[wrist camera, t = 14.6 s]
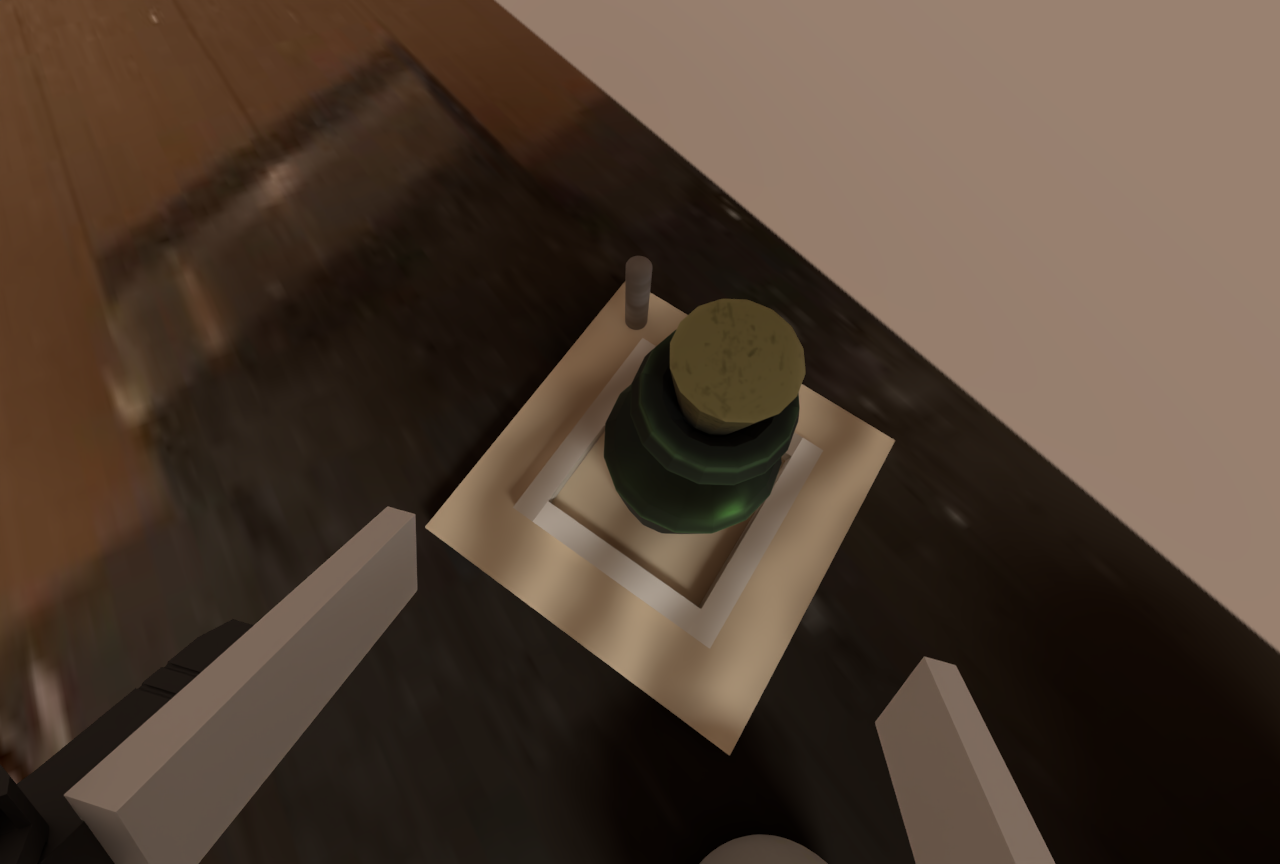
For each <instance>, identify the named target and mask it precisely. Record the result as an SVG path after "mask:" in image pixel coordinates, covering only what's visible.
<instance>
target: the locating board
mask: <svg viewBox="0 0 1280 864" xmlns="http://www.w3.org/2000/svg"><path fill="white" fill-rule="evenodd" d="M651 277H652V263H651V262H650V260H649V259H647V258H646V257H643V256H634V257H632V258H630V259H629V260H628V261H627V263H626V278H625V282H624V283H623V284H622V286H621V287H620V288H619V289H618V291H617V292H616V293H615V294H614V296H613V297H612V298H611V299H610V300H609V302H608V303H607V304H606V305H605V307H604V308H603V309H602V310H601V311H600V313H599V314H598V315H597V316H596V318H595V319H594V320H593V321H592V323H591V324H590V325H589V326H588V327H587V329H586V330H585V331H584V332H583V334H582V335H581V336H580V337H579V339H578V340H577V341H576V342H575V343H574V345H573V346H572V347H571V348H570V350H569V351H568V352H567V353H566V354H565V356H564V357H563V358H562V359H561V361H560V362H559V363H558V364H557V366H556V367H555V368H554V369H553V370H552V372H551V373H550V374H549V375H548V377H547V378H546V379H545V380H544V381H543V383H542V384H541V385H540V386H539V388H538V389H537V390H536V391H535V393H534V394H533V395H532V396H531V397H530V399H529V400H528V401H527V402H526V404H525V405H524V406H523V407H522V409H521V410H520V411H519V412H518V413H517V415H516V416H515V417H514V418H513V420H512V421H511V422H510V423H509V424H508V426H507V427H506V428H505V429H504V431H503V432H502V433H501V434H500V436H499V437H498V438H497V439H496V440H495V442H494V443H493V444H492V445H491V447H490V448H489V449H488V450H487V452H486V453H485V454H484V455H483V456H482V458H481V459H480V460H479V461H478V463H477V464H476V465H475V466H474V467H473V469H472V470H471V471H470V472H469V474H468V475H467V476H466V477H465V479H464V480H463V481H462V482H461V483H460V485H459V486H458V487H457V488H456V490H455V491H454V492H453V493H452V494H451V496H450V497H449V498H448V499H447V501H446V502H445V503H444V504H443V506H442V507H441V508H440V509H439V510H438V512H437V513H436V514H435V515H434V517H433V518H432V519H431V520H430V522H429V523H428V524H427V525H426V526H425V528H427V529H428V530H429V531H431V532H432V533H433V534H435V535H436V536H437V537H439V538H440V539H441V540H443V541H444V542H445V543H447V544H448V545H449V546H451V547H452V548H453V549H455V550H456V551H457V552H459V553H460V554H461V555H463V556H464V557H465V558H467V559H468V560H469V561H471V562H472V563H473V564H475V565H476V566H477V567H479V568H480V569H481V570H483V571H484V572H485V573H487V574H488V575H489V576H491V577H492V578H493V579H495V580H496V581H497V582H499V583H500V584H501V585H503V586H504V587H505V588H507V589H508V590H509V591H511V592H512V593H513V594H515V595H516V596H517V597H519V598H520V599H521V600H523V601H524V602H525V603H527V604H528V605H529V606H531V607H532V608H533V609H535V610H536V611H537V612H539V613H540V614H541V615H543V616H544V617H545V618H547V619H548V620H549V621H551V622H552V623H553V624H555V625H556V626H557V627H559V628H560V629H561V630H563V631H564V632H565V633H567V634H568V635H569V636H571V637H572V638H573V639H575V640H576V641H577V642H579V643H580V644H581V645H583V646H584V647H585V648H587V649H588V650H589V651H591V652H592V653H593V654H595V655H596V656H597V657H599V658H600V659H601V660H603V661H604V662H605V663H607V664H608V665H609V666H611V667H612V668H613V669H615V670H616V671H617V672H619V673H620V674H621V675H623V676H624V677H625V678H627V679H628V680H629V681H631V682H632V683H633V684H635V685H636V686H637V687H639V688H640V689H641V690H643V691H644V692H645V693H647V694H648V695H649V696H651V697H652V698H653V699H655V700H656V701H657V702H659V703H660V704H661V705H663V706H664V707H665V708H667V709H668V710H669V711H671V712H672V713H673V714H675V715H676V716H677V717H679V718H680V719H681V720H683V721H684V722H685V723H687V724H688V725H689V726H691V727H692V728H693V729H695V730H696V731H697V732H699V733H700V734H701V735H703V736H704V737H705V738H707V739H708V740H709V741H711V742H712V743H713V744H715V745H716V746H717V747H719V748H720V749H721V750H723V751H724V752H725V753H727V754H728V755H729V756H730V754H731V752H732V750H733V749H734V747H735V745H736V743H737V741H738V739H739V737H740V735H741V733H742V731H743V729H744V728H745V726H746V724H747V722H748V720H749V718H750V716H751V714H752V712H753V710H754V709H755V707H756V705H757V703H758V701H759V699H760V697H761V695H762V693H763V691H764V689H765V688H766V686H767V684H768V682H769V680H770V678H771V676H772V674H773V672H774V670H775V669H776V667H777V665H778V663H779V661H780V659H781V657H782V655H783V653H784V651H785V649H786V648H787V646H788V644H789V642H790V640H791V638H792V636H793V634H794V632H795V630H796V629H797V627H798V625H799V623H800V621H801V619H802V617H803V615H804V613H805V611H806V609H807V608H808V606H809V604H810V602H811V600H812V598H813V596H814V594H815V592H816V590H817V588H818V587H819V585H820V583H821V581H822V579H823V577H824V575H825V573H826V571H827V569H828V568H829V566H830V564H831V562H832V560H833V558H834V556H835V554H836V552H837V550H838V548H839V547H840V545H841V543H842V541H843V539H844V537H845V535H846V533H847V531H848V529H849V528H850V526H851V524H852V522H853V520H854V518H855V516H856V514H857V512H858V510H859V508H860V507H861V505H862V503H863V501H864V499H865V497H866V495H867V493H868V491H869V489H870V488H871V486H872V484H873V482H874V480H875V478H876V476H877V474H878V472H879V470H880V468H881V467H882V465H883V463H884V461H885V459H886V457H887V455H888V453H889V451H890V449H891V448H892V446H893V444H894V442H895V440H894V439H892V438H890V437H889V436H887V435H885V434H884V433H882V432H880V431H879V430H877V429H875V428H874V427H872V426H870V425H869V424H867V423H865V422H864V421H862V420H860V419H859V418H857V417H856V416H854V415H852V414H851V413H849V412H847V411H846V410H844V409H842V408H841V407H839V406H837V405H836V404H834V403H832V402H831V401H829V400H827V399H826V398H824V397H822V396H821V395H819V394H817V393H816V392H814V391H812V390H811V389H809V388H808V387H806V386H804V385H803V384H801V387H800V390H799V392H798V393H799V406H800V410H799V420H798V423H797V426H796V429H795V432H794V434H793V437H792V440H791V443H790V446H789V448H788V451H787V452H786V453H785V454H784V455H783V456H782V457H781V459H782V464H781V467H780V469H779V472H778V475H777V478H776V480H775V483H774V486H773V489H772V492H771V494H770V496H769V497H768V498H767V499H766V500H765V501H764V502H763V503H762V504H761V505H760V506H759V507H758V508H757V509H756V510H755V511H754V512H753V513H752V514H751V515H750V516H749V518H748V519H747V520H745V521H743V522H740V523H738V524H735V525H733V526H730V527H728V528H725V529H723V530H720V531H718V532H715V533H712V534H664V533H660V532H657V531H655V530H653V529H651V528H649V527H646V526H644V525H642V523H641V522H640V521H639V520H638V519H637V518H636V517H635V516H634V515H633V514H632V513H631V512H630V511H629V509H628V508H627V506H626V505H625V503H624V502H623V500H622V499H621V497H620V496H619V494H618V493H617V491H616V489H615V486H614V484H613V481H612V478H611V476H610V473H609V470H608V467H607V465H606V462H605V459H604V440H605V423H606V421H607V419H608V417H609V415H610V413H611V411H612V409H613V407H614V405H615V403H616V401H617V399H618V397H619V395H620V393H621V392H622V391H624V390H625V389H626V388H627V387H628V386H629V385H631V383H632V381H633V379H634V377H635V375H636V373H637V371H638V369H639V367H640V365H641V363H642V361H643V359H644V357H645V356H646V355H647V354H648V353H649V352H650V351H651V350H652V349H654V348H655V347H656V346H657V345H658V344H659V343H661V342H662V341H663V340H664V339H665V338H667V337H668V336H669V335H670V334H671V333H672V332H674V331H675V330H676V329H677V327H678V325H679V323H680V322H681V321H682V320H683V319H684V318H685V317H686V316H688V315H687V314H685V313H683V312H682V311H680V310H678V309H677V308H675V307H674V306H672V305H670V304H669V303H667V302H665V301H664V300H662V299H660V298H659V297H657V296H655V295H654V294H652V293H650V287H651Z"/></svg>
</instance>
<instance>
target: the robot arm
mask: <svg viewBox="0 0 1280 864" xmlns="http://www.w3.org/2000/svg"><path fill="white" fill-rule="evenodd" d="M416 591H417V561H416V520H415V514H413V513H409V512H405V511H402V510H398V509H395V508H391V507H386V508H385V509H384V510H383V511H382V512H381V513H380V514H379V515H377V516H376V517H375V518H374V519H373V520H372V521H371V522H370V523H368V524H367V525H366V526H365V527H364V528H363V529H362V530H361V531H359V532H358V533H357V534H356V535H355V536H354V537H353V538H352V539H350V540H349V541H348V542H347V543H346V544H345V545H344V546H343V547H341V548H340V549H339V550H338V551H337V552H336V553H335V554H334V555H332V556H331V557H330V558H329V559H328V560H327V561H326V562H325V563H324V564H322V565H321V566H320V567H319V568H318V569H317V570H316V571H315V572H313V573H312V574H311V575H310V576H309V577H308V578H307V579H306V580H304V581H303V582H302V583H301V584H300V585H299V586H298V587H297V588H295V589H294V590H293V591H292V592H291V593H290V594H289V595H288V596H286V597H285V598H284V599H283V600H282V601H281V602H280V603H279V604H277V605H276V606H275V607H274V608H273V609H272V610H271V611H270V612H268V613H267V614H266V615H265V616H264V617H263V618H262V619H261V620H259V621H258V622H257V623H256V624H255V625H251V624H247V623H244V622H241V621H237V620H234V619H232V620H230V621H229V622H227V623H225V624H223V625H221V626H219V627H217V628H215V629H213V630H211V631H209V632H207V633H205V634H203V635H202V636H200V637H198V638H197V639H195V640H194V641H193V642H192V643H190V644H189V645H188V646H187V647H186V648H184V649H183V650H182V651H181V652H179V653H178V654H177V655H176V656H175V657H173V658H172V659H171V660H170V661H168V664H167V665H166V666H165V667H161V668H160V669H159V670H157V671H156V672H155V673H154V674H153V675H151V676H150V677H149V678H148V679H146V680H145V681H144V682H143V683H142V686H141V687H140V688H138V689H136V688H135V689H134V690H133V691H132V692H131V693H129V694H128V695H127V696H126V697H124V698H123V699H122V700H121V701H120V702H118V703H117V704H116V705H115V706H113V707H112V708H111V709H110V710H109V711H107V712H106V713H105V714H104V715H102V716H101V717H100V718H99V719H98V720H96V721H95V722H94V723H93V724H91V725H90V726H89V727H88V728H87V729H85V730H84V731H83V732H82V733H80V734H79V735H78V736H77V737H76V738H74V739H73V740H72V741H71V742H69V743H68V744H67V745H66V746H65V747H63V748H62V749H61V750H60V751H58V752H57V753H56V754H55V755H54V756H52V757H51V758H50V759H49V760H48V761H46V762H45V763H44V764H43V765H41V766H40V767H39V768H38V769H37V770H35V771H34V772H33V773H31V774H30V775H28V776H27V777H26V778H24V779H23V780H22V781H20V782H19V783H18V784H16V783H15V782H14V781H13V779H12V778H11V777H10V776H9V774H8V773H7V772H6V771H5V770H4V768H3V767H2V766H1V765H0V864H198V863H199V862H200V861H201V860H202V858H203V857H204V856H205V855H206V853H207V852H208V851H209V850H210V848H211V847H212V846H213V845H214V843H215V842H216V841H217V840H218V838H219V837H220V836H221V835H222V833H223V832H224V831H225V830H226V828H227V827H228V826H229V825H230V823H231V822H232V821H233V820H234V818H235V817H236V816H237V815H238V813H239V812H240V811H241V810H242V808H243V807H244V806H245V805H246V803H247V802H248V801H249V800H250V798H251V797H252V796H253V795H254V793H255V792H256V791H257V790H258V788H259V787H260V786H261V785H262V783H263V782H264V781H265V780H266V778H267V777H268V776H269V775H270V773H271V772H272V771H273V770H274V768H275V767H276V766H277V765H278V764H279V762H280V761H281V760H282V759H283V757H284V756H285V755H286V754H287V752H288V751H289V750H290V749H291V747H292V746H293V745H294V744H295V742H296V741H297V740H298V739H299V737H300V736H301V735H302V734H303V732H304V731H305V730H306V729H307V727H308V726H309V725H310V724H311V722H312V721H313V720H314V719H315V717H316V716H317V715H318V714H319V712H320V711H321V710H322V709H323V707H324V706H325V705H326V704H327V702H328V701H329V700H330V699H331V697H332V696H333V695H334V694H335V692H336V691H337V690H338V689H339V687H340V686H341V685H342V684H343V682H344V681H345V680H346V679H347V677H348V676H349V675H350V674H351V672H352V671H353V670H354V669H355V667H356V666H357V665H358V664H359V662H360V661H361V660H362V659H363V657H364V656H365V655H366V654H367V652H368V651H369V650H370V649H371V647H372V646H373V645H374V644H375V642H376V641H377V640H378V639H379V637H380V636H381V635H382V634H383V632H384V631H385V630H386V629H387V627H388V626H389V625H390V624H391V622H392V621H393V620H394V619H395V617H396V616H397V615H398V614H399V612H400V611H401V610H402V609H403V607H404V606H405V605H406V604H407V602H408V601H409V600H410V599H411V597H412V596H413V595H414V594H415V592H416ZM875 724H876V728H877V731H878V735H879V738H880V742H881V745H882V749H883V752H884V755H885V759H886V762H887V766H888V769H889V773H890V776H891V780H892V783H893V786H894V790H895V793H896V797H897V800H898V804H899V807H900V811H901V814H902V817H903V821H904V824H905V828H906V831H907V835H908V838H909V842H910V845H911V848H912V852H913V855H914V859H915V862H916V864H1055V862H1054V860H1053V858H1052V856H1051V854H1050V852H1049V850H1048V848H1047V846H1046V844H1045V842H1044V840H1043V838H1042V836H1041V834H1040V832H1039V830H1038V828H1037V826H1036V824H1035V822H1034V820H1033V818H1032V816H1031V814H1030V812H1029V810H1028V808H1027V806H1026V804H1025V802H1024V800H1023V798H1022V796H1021V794H1020V792H1019V790H1018V788H1017V786H1016V784H1015V782H1014V780H1013V778H1012V776H1011V774H1010V772H1009V770H1008V768H1007V766H1006V764H1005V762H1004V760H1003V758H1002V756H1001V754H1000V752H999V750H998V748H997V746H996V744H995V742H994V740H993V738H992V736H991V734H990V732H989V730H988V728H987V726H986V724H985V723H984V721H983V719H982V717H981V715H980V713H979V711H978V709H977V707H976V705H975V703H974V701H973V699H972V697H971V695H970V693H969V691H968V689H967V687H966V685H965V683H964V681H963V679H962V677H961V675H960V673H959V671H958V669H957V667H956V665H953V664H949V663H946V662H942V661H939V660H935V659H931V658H928V657H923V659H922V660H921V661H920V663H919V664H918V665H917V667H916V668H915V669H914V671H913V672H912V673H911V675H910V676H909V677H908V679H907V680H906V681H905V683H904V684H903V685H902V687H901V688H900V689H899V691H898V692H897V693H896V695H895V696H894V697H893V699H892V700H891V702H890V703H889V704H888V706H887V707H886V708H885V710H884V711H883V712H882V714H881V715H880V716H879V718H878V719H877V720H876V722H875Z"/></svg>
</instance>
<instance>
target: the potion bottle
mask: <svg viewBox="0 0 1280 864" xmlns="http://www.w3.org/2000/svg"><path fill="white" fill-rule="evenodd" d="M805 373H806V372H805V361H804V349H803V347H802V345H801V343H800V341H799V339H798V338H797V336H796V334H795V332H794V330H793V328H792V326H790V325H789V324H788V323H787V322H786V321H785V320H784V319H782V318H781V317H780V316H779V315H778V314H777V313H776V312H774V311H773V310H772V309H770V308H767V307H765V306H762V305H760V304H757V303H755V302H752V301H750V300H741V299H720V300H717V301H714V302H710V303H707V304H704V305H701V306H698V307H697V308H696V309H695V310H694V311H692V312H691V313H690V314H689V315H688V316H686V317H685V318H684V319H683V320H682V321H681V322H680V323H679V325H678V327H677V329H676V330H675V331H674V332H672V333H671V334H670V335H669V336H668V337H667V338H665V339H664V340H663V341H662V342H661V343H659V344H658V345H657V346H656V347H655V348H654V349H652V350H651V351H650V352H649V353H648V354H647V355H646V356H645V357H644V359H643V361H642V363H641V365H640V367H639V369H638V371H637V373H636V375H635V377H634V379H633V381H632V383H631V385H629V386H628V387H627V388H626V389H625V390H624V391H622V392H621V393H620V395H619V397H618V399H617V401H616V403H615V405H614V407H613V409H612V411H611V413H610V415H609V417H608V419H607V421H606V423H605V440H604V459H605V462H606V465H607V467H608V470H609V473H610V476H611V478H612V481H613V484H614V486H615V489H616V491H617V493H618V494H619V496H620V497H621V499H622V500H623V502H624V503H625V505H626V506H627V508H628V509H629V511H630V512H631V513H632V514H633V515H634V516H635V517H636V518H637V519H638V520H639V521H640V522H641V523H642V525H644V526H646V527H649V528H651V529H653V530H655V531H657V532H660V533H664V534H712V533H715V532H718V531H720V530H723V529H725V528H728V527H730V526H733V525H735V524H738V523H740V522H743V521H745V520H747V519H748V518H749V516H750V515H751V514H752V513H753V512H754V511H755V510H756V509H757V508H758V507H759V506H760V505H761V504H762V503H763V502H764V501H765V500H766V499H767V498H768V497H769V496H770V494H771V492H772V489H773V486H774V483H775V480H776V478H777V475H778V472H779V469H780V467H781V464H782V459H781V457H782V456H783V455H784V454H785V453H786V452H787V451H788V448H789V446H790V443H791V440H792V437H793V434H794V432H795V429H796V426H797V423H798V420H799V410H800V406H799V393H798V392H799V390H800V387H801V384H802V382H803V379H804V376H805Z"/></svg>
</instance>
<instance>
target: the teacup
mask: <svg viewBox="0 0 1280 864" xmlns="http://www.w3.org/2000/svg"><path fill="white" fill-rule="evenodd" d="M700 864H828V863H826V862H825V861H824V860H823V859H822V858H820V857H819V856H818V855H817V854H815V853H813V852H812V851H810V850H809V849H807V848H806V847H804V846H802V845H800V844H798V843H795V842H793V841H791V840H788V839H786V838H782V837H778V836H774V835H760V834H757V835H749V836H744V837H740V838H736V839H733V840H731V841H729V842H727V843H724V844H722V845H721V846H719V847H718V848H716V849H715V850H713V851H712V852H711V853H710V854H708V855H707V856H706V857H705V858H704V859H703V860H702V861H701V862H700Z"/></svg>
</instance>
